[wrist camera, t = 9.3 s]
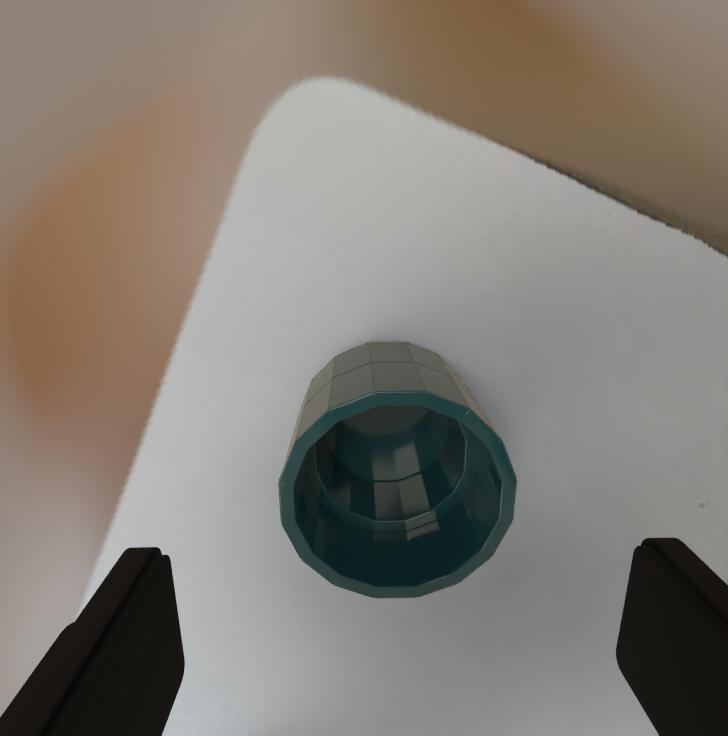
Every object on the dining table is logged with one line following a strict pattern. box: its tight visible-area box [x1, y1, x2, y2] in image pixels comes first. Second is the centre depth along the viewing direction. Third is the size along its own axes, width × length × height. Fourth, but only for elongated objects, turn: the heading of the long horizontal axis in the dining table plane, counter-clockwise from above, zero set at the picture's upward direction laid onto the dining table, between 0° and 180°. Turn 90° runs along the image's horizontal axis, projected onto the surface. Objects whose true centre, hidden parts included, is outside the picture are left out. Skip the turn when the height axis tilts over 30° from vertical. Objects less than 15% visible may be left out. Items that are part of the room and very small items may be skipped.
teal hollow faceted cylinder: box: [278, 342, 517, 598], centre depth 15 cm, size 6×6×6 cm
